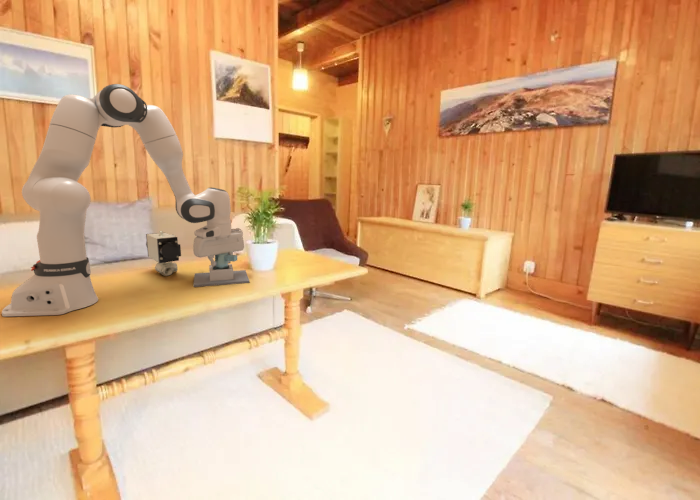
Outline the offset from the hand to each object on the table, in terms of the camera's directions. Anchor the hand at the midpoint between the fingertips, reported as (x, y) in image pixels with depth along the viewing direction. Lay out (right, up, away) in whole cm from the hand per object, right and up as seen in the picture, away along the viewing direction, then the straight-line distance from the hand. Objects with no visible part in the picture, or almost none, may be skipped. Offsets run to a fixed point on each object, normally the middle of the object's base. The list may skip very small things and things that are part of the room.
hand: (220, 264), depth 140 cm
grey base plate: (0, -6, +1) cm, 6 cm away
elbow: (+2, -4, 0) cm, 5 cm away
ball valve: (-24, -4, +5) cm, 25 cm away
